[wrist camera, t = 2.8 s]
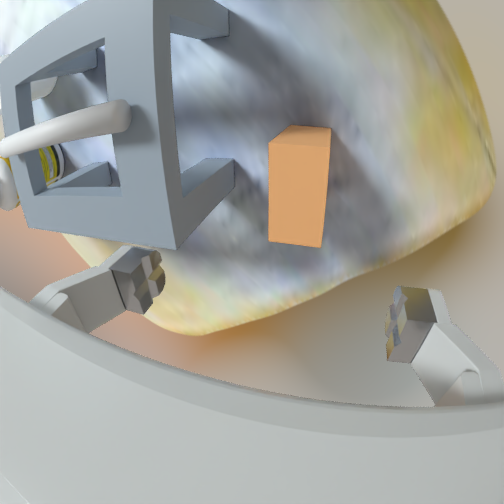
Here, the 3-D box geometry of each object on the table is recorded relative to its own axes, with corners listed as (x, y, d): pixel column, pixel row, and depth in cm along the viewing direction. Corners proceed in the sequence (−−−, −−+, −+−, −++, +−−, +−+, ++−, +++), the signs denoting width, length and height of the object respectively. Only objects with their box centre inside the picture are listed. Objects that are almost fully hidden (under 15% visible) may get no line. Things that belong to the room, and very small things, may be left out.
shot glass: (66, 49, 19) (14, 56, 13) (55, 106, 23) (7, 121, 17) (37, 46, 19) (-9, 54, 13) (28, 96, 23) (-15, 110, 17)
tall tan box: (290, 124, 19) (268, 143, 13) (331, 128, 19) (330, 147, 13) (288, 194, 22) (268, 241, 16) (326, 198, 22) (320, 247, 16)
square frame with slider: (80, 52, 19) (-17, 68, 9) (228, 9, 15) (133, -38, 6) (96, 183, 27) (16, 236, 18) (234, 186, 23) (161, 266, 14)
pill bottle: (45, 126, 25) (-28, 158, 16) (71, 155, 26) (-6, 195, 17) (35, 162, 28) (-28, 198, 19) (59, 191, 29) (-6, 234, 20)
